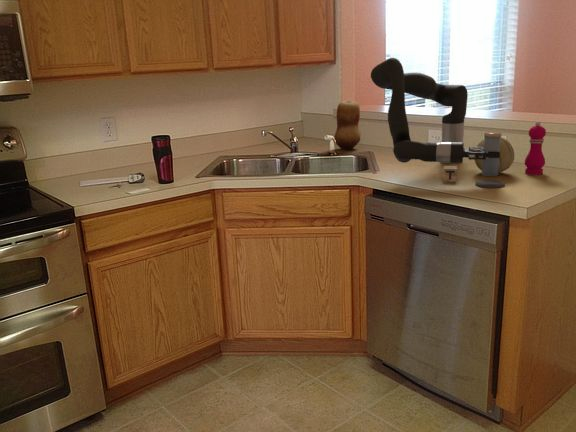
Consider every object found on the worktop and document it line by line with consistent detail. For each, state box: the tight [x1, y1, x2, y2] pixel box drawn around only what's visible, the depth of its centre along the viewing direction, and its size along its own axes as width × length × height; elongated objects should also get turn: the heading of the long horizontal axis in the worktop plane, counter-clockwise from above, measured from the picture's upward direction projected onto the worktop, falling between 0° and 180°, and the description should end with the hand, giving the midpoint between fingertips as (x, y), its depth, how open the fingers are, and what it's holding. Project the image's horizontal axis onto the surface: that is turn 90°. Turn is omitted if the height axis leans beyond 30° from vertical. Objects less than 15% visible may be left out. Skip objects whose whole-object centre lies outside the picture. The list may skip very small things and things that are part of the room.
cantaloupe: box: [474, 137, 515, 175], centre depth 209 cm, size 15×15×15 cm
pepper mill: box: [524, 121, 547, 176], centre depth 205 cm, size 7×7×20 cm
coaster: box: [475, 179, 506, 189], centre depth 194 cm, size 10×10×1 cm
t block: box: [442, 165, 458, 183], centre depth 203 cm, size 5×5×5 cm
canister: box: [481, 131, 503, 177], centre depth 190 cm, size 6×6×15 cm
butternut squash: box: [333, 100, 361, 150], centre depth 279 cm, size 14×13×25 cm
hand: (498, 153), depth 190 cm, fingers closed on canister, 5 cm apart
